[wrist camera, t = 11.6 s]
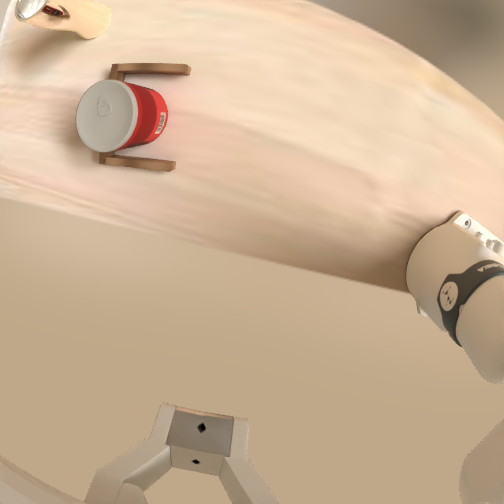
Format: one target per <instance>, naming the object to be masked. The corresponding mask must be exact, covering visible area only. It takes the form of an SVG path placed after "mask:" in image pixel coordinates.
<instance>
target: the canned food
mask: <svg viewBox="0 0 504 504" xmlns="http://www.w3.org/2000/svg"><path fill="white" fill-rule="evenodd" d="M167 118H168V110H167V106H166V103H165V101H164V99H163V98H162V96H161V95H160V94H159V93H158V92H156V91H155V90H153V89H149V88H146V87H142V86H138V85H135V84H131V83H127V82H123V81H118V80H103V81H100V82H97V83H95V84H94V85H92V86H91V87H90V88H89V89H88V90H87V91H86V92H85V93H84V95H83V96H82V98H81V100H80V102H79V104H78V107H77V111H76V128H77V132H78V134H79V137H80V139H81V140H82V142H83V143H84V144H85V145H86V146H87V147H88V148H90V149H91V150H94V151H96V152H111V151H117V150H121V149H126V148H130V147H135V146H140V145H145V144H148V143H150V142H152V141H154V140H155V139H156V138H157V137H159V135H160V134H161V133H162V131H163V130H164V128H165V126H166V123H167Z"/></svg>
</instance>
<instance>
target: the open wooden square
mask: <svg viewBox="0 0 504 504" xmlns="http://www.w3.org/2000/svg"><path fill="white" fill-rule="evenodd" d="M190 70H191V67H189V66H188V65H186V64H167V63H127V64H112V68H111V73H110V79H109V80H118V81H123V82H124V78H125V73H165V74H185V75H190ZM114 152H115V151H111V152H100V162H99V164H108V165H117V166H126V167H135V168H144V169H152V170H159V171H167V172H170V171H172V170H174V169H175V164H176V162H174V161H166V160H158V159H149V158H140V157H131V156H120V155H114Z"/></svg>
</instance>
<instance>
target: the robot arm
mask: <svg viewBox="0 0 504 504" xmlns="http://www.w3.org/2000/svg"><path fill="white" fill-rule="evenodd" d="M465 222H466V224H465ZM406 281H407V286H408V289H409V291H410V293H411V294H412V296H413V297H414V298H415V300H416V302H417V310H418V313H419V314H420V315H421V316H423V317H426V316H428V317H429V318H430V319H431V320H432V321H433V322H434V323H435V324H436V326H437V327H438V328H439V329H440V330H441V331H442V332H448V334H449V336H450V337H451V338H452V339H453V340H454V341H455V342H456V344H458V345H459V346H460V347H463V349H464V350H465V352H466V353H467V355H468V356H469V358H470V359H471V361H472V363H473V364H474V366H475V367H476V369H477V370H478V372H479V374H480V375H481V376H482V377H483V378H484V379H485V380H487V381H489V382H491V383H495V384H504V242H502V241H501V240H500V239H499V238H498V237H496V236H495V235H494V234H493V233H491V232H490V231H489V230H487V229H486V228H485V227H483V226H482V225H481V224H479V223H478V222H477V221H475V220H474V219H473V218H471V217H470V216H469V215H467V214H466V213H464V212H463V211H459V212H457V213H456V214H455V215H454V216H453V217H452V218H451V219H450V220H449V221H448V222H447V223H445V224H443V225H440V226H438V227H436V228H434V229H432V230H431V231H430V232H428V233H427V234H426V235H425V236H424V237H423V238H422V239H421V240H420V241H419V242H418V244H417V245H416V247H415V248H414V250H413V252H412V254H411V256H410V259H409V261H408V265H407V271H406ZM248 430H249V420H248V419H244V418H237V417H233V416H226V415H220V414H213V413H207V412H201V411H196V410H192V409H187V408H183V407H179V406H176V405H171V404H167V403H162V405H161V406H160V409H159V412H158V414H157V417H156V420H155V423H154V426H153V429H152V432H151V435H150V438H149V440H148V439H144V440H142V441H141V442H139V443H138V444H137V445H135V446H134V447H132V448H131V449H129V450H128V451H126V452H125V453H123V454H122V455H120V456H118V457H117V458H115V459H114V460H112V461H111V462H109V463H108V464H106V465H104V466H103V467H101V468H100V469H98V470H97V471H96V473H95V475H94V478H93V480H92V483H91V485H90V488H89V490H88V493H87V496H86V498H85V501H84V502H83V501H81V500H79V499H76V498H74V497H72V496H70V495H68V494H66V493H64V492H62V491H60V490H58V489H56V488H54V487H52V486H50V485H48V484H47V483H45V482H43V481H41V480H39V479H37V478H36V477H34V476H32V475H31V474H29V473H27V472H26V471H24V470H22V469H21V468H19V467H18V466H16V465H15V464H13V463H12V462H10V461H9V460H7V459H5V458H4V457H3V456H1V455H0V504H148V503H147V501H146V498H145V496H144V493H143V492H144V491H145V490H146V489H148V488H149V487H150V486H151V485H153V484H154V483H155V482H156V481H157V480H158V479H160V478H161V477H162V476H163V475H164V474H165V473H166V472H168V471H169V470H170V469H171V467H176V468H180V469H185V470H191V471H196V472H200V473H205V474H210V475H216V476H219V478H220V480H221V482H222V484H223V486H224V488H225V490H226V492H227V494H228V496H229V498H230V500H231V502H232V504H280V503H279V501H278V500H277V499H276V497H275V496H274V494H273V493H272V491H271V490H270V489H269V487H268V486H267V484H266V483H265V481H264V480H263V478H262V477H261V475H260V474H259V472H258V471H257V469H256V468H255V466H254V464H253V463H252V461H251V460H247V459H246V456H247V444H248ZM459 491H460V496H461V500H462V502H463V504H504V419H503V420H502V421H501V422H500V423H499V424H497V425H496V426H495V428H494V429H493V430H492V431H491V432H490V433H489V434H488V435H487V436H486V437H485V438H484V439H483V440H482V441H481V442H480V443H479V444H478V445H477V446H476V447H475V448H474V449H473V450H472V451H471V452H470V453H469V454H468V455H467V456H466V458H465V460H464V463H463V465H462V469H461V473H460V479H459Z"/></svg>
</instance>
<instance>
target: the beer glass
mask: <svg viewBox="0 0 504 504" xmlns="http://www.w3.org/2000/svg"><path fill="white" fill-rule="evenodd" d="M15 16H16V18H17V19H18V20H19V21H23V22H25V23H28V24H30V25H33V26H36V27H39V28H43V29H48V30H61V31H73V32H75V33H77V34H78V35H79V36H81V37H82V38H85V39H92V38H95V37H97V36H99V35H101V34H102V33H103V32H104V31H105V30H106V29H107V27H108V26H109V24H110V22H111V19H112V11H111V9H110V8H109V7H108V6H106V5H104V4H100V3H96V2H94V1H93V0H18V1H17V4H16V7H15Z"/></svg>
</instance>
